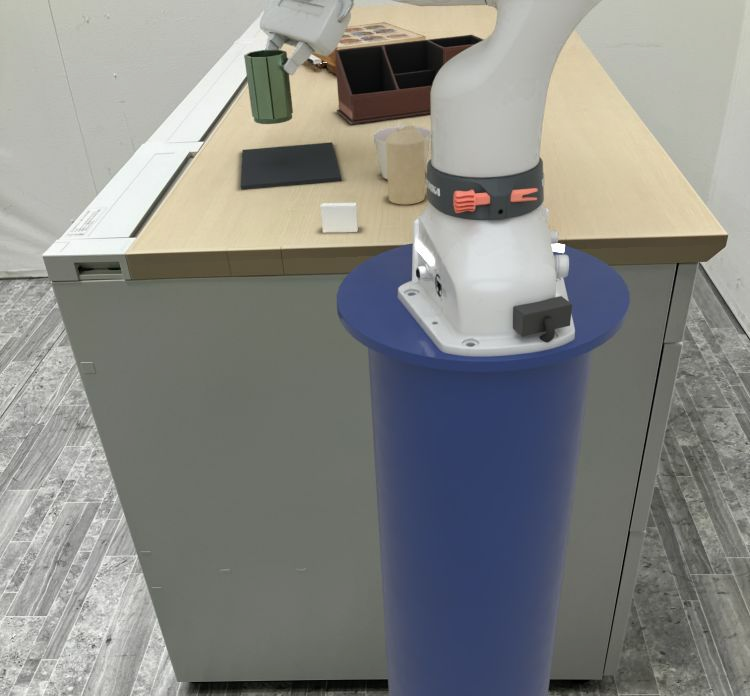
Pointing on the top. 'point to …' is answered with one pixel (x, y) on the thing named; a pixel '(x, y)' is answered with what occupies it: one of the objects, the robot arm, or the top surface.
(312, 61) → the wooden box
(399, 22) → the top surface
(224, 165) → the top surface
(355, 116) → the desk organizer
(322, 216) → the eraser
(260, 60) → the bucket
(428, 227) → the robot arm
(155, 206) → the top surface
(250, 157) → the mat
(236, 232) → the top surface
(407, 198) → the candle
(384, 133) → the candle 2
